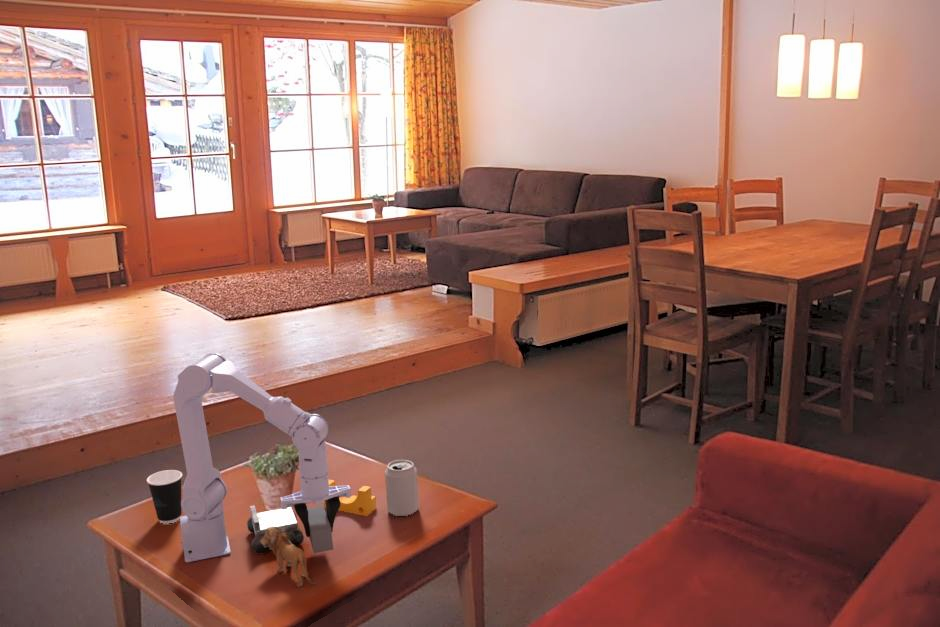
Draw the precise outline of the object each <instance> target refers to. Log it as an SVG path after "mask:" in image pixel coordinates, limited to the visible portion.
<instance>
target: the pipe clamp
mask: <svg viewBox="0 0 940 627" xmlns="http://www.w3.org/2000/svg"><path fill="white" fill-rule="evenodd" d="M328 481H329V486H337V485H336V481H335V480H333V479H329V478H328ZM339 500H340V508H339V509H338V510H339V511H338V512H342V511H344V512H343V513H347V512H349V514H352V513H354V515H358V514H359V515H358V516H363V515H364V516H363V517H368V516H369V515H370V514H371V513H373V512H374V511H375V510H376V509H377V499H376V496H375V495H372V486H366V485H363V486H362V487H360V488H359V489H357V495H355V494H353V495H352V494H351V497H346V496H345V497H339ZM323 506H324V509H326V502H325V500H324V502H323ZM372 511H373V512H372ZM355 513H356V514H355Z"/></svg>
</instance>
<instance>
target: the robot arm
mask: <svg viewBox="0 0 940 627" xmlns="http://www.w3.org/2000/svg"><path fill="white" fill-rule="evenodd" d="M210 390H211V394H219V393H228V392H230V393H232V394H234V395H235V396H237V397H239V398H241V399H242V400H243V401H245V402H248V403H249V404H251V405H252V406H254V407H256V408H258V409H259V410H261V411H262V412H263V416H264V419H265V421H267V422H268V423H270V424H271V425H273V426H275V427H276V428H278V429H279V430H281V431H282V432H283V433H285V434H287V435H288V436H289V437H291V440H292V443H293V445H294V446H295V447H296V449H297V451H298V465H299V475H300V487H301V490H300V491H298V492H294V493H292V494H289V495H285V496H281V497H279V499H280V508H282V509H287V507H291V508H292V507H293V508H294V512H295V514H296V516H298V518H299V519H300V521H301V523H302V525H303V529H304V533H305V536H306V538H309V537H310V529H309V522H308V510H307V508H308V505H307V504H315V505H320V504H324V500H325V502H326V508H325V511H326V515H327V517H328V520H329V523H330V526H331V531H332V533H333V532H334V530H333V528H334V523H335V520H336V518H337V517H336V516H337V513H338V512H339V511H338V509H339V508H340V500H339V497H347V498H350V497H351V496H352V490H351V486H350V485H349V484H347V485H336V486H329V481H328V479H329V470H328V467H329V466H328V457H327V456H328V455H327V445H326V439H325V438H327V436H328V434H329V424H328V422H327V420H326V419H325V418H324V417H322V415H320V414H317V413H312V414H311V413H310V412H308V411H304V410H303V409H302V408H300V407H298V406H297V405H295V404H294V403H292V399H290V398H289V397H287V396H286V397H283V396H282V395H281V396H272V395H271V394H269V392H267V391H266V390H264V389H263V388H262V387H260V386H259V385H258V384H256V383H255V382H254V381H252V380H251V378H248V377H247V376H246V375H245V374H244V373H242V372H240V370H238V368H237V366H236V365H235V363H234V362H233V361H231V360H229V359H227V358H225V356H223V355H222V354H219V353H217V352H211V353H207V354H206V355H205V356H203V357H202V358H200V359H199V360H198V361H196V362H194V363H192V364H191V365H188V366H187V367H185V368H184V369H183V370H181V372H180V373H179V374H178V375H177V384H176V387H175V389H174V391H173V396H172V397H173V404H174V408H175V409H174V411H175V416H176V420H177V426H178V430H179V437H180V442H181V448H182V451H183V452H182V454H183V458H184V459H183V460H184V463H185V469H186V476H185V479H184V483H183V485H182V487H181V492H182V497H181V508H182V512H183V514H184V515H182V516H181V517H180V520H179V523H180V524H179V526H180V532H181V539H182V541H181V542H180V544H181V550H182V551H183V555H184V562H185V563H191V562H197V561H202V560H205V559H211V558H216V557H222V556H226V555H231V553H232V551H231V546H230V542H229V537H228V535H227V530H226V528H227V527H226V523H225V522H226V519H225V512H224V502H223V500H224V499H225V498H227V494H228V493H227V492H228V488H227V485H226V483H225V482H224V480H223V478H222V475H221V471H220V470H219V469H216V468H215V467H214V464H213V458H212V454H211V449H210V447H211V446H210V440H209V436H208V431H207V424H206V419H205V418H206V417H205V414H204V408H203V401H202V399H203V398H204V397H205V396H206V395H207V393H208V392H209V391H210Z"/></svg>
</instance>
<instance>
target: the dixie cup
mask: <svg viewBox="0 0 940 627" xmlns="http://www.w3.org/2000/svg"><path fill="white" fill-rule="evenodd" d="M182 478H183V472H182V471H180V470H176V469H166V470H160V471H157V472H154V473H152V474H150V475H149V476H148V477H147V478H146V483H147V484H148V487H149V490H150V491H149V492H150V495H151V499H152V501H153V506H154V508H155V514H156V517H157V519H158V522H159V523H160V524H161V523H163V524H162V525H170V524H169V523H173V524H175V523H174V522H176V521H177V520H179V519H180V517H182V516H181V515H182V512H183V511H182V508H181V501H182ZM179 521H180V520H179ZM176 523H177V522H176Z"/></svg>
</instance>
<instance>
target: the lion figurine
mask: <svg viewBox="0 0 940 627" xmlns="http://www.w3.org/2000/svg"><path fill="white" fill-rule="evenodd" d="M260 542H261V543H262V544H263V546H264V547H267V546H269V549H270V550H271V551H272V552H273V555H275V556H276V561H277V564H278V566H279V567H278V568H277V569H276V572H277V573H282V572H283V571H284V570H285V569H284V567H285V566H284V564H283V559H284V560H285V561H286V564H285V565H286V567H291V570H292V572H293V574H294V575H295V577H296V579H297V583H296V586H297V588H301V587H302V586H304V581H303V578H304V577H305V579H306V580H307V581H308V582H309V583H310V584H313V585H315V584H316V582H315V581H314V579H311V578H310V577H309V573H308V570H307V558H306V554H305V552H304V551H303V549H302V548H300V547H298V546H297V547H296V546H295V545H293V544H292V543H291V541H290V538H289V537H288V535H287V534H286V531H285V532H284V531H282V530H281V529H280V528H278V527H274V526H271V527H268V528H267V533H266V534H265V536H264V537H263V538H262V539H261V540H260ZM299 563H300V567H301V570H302V576H301V575H300V574H301V573H300V572H299V571H300V570H299ZM302 577H303V578H302Z"/></svg>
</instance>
